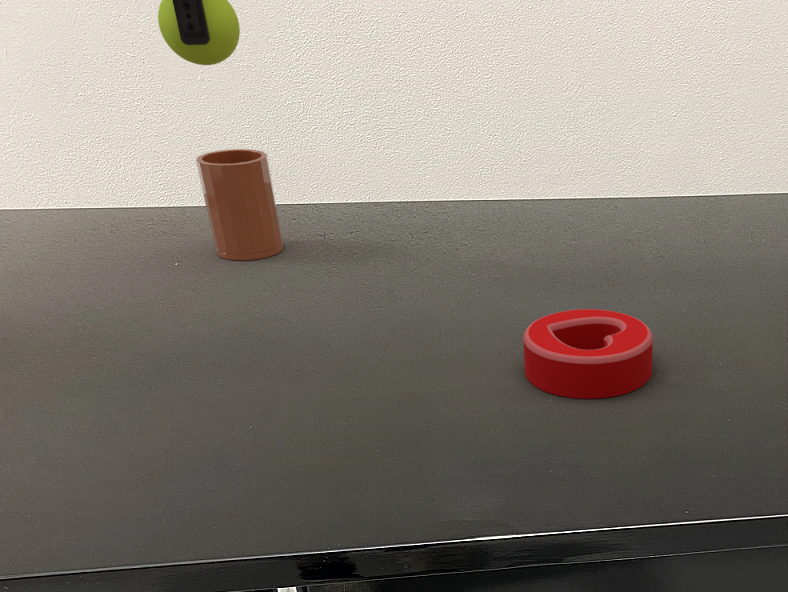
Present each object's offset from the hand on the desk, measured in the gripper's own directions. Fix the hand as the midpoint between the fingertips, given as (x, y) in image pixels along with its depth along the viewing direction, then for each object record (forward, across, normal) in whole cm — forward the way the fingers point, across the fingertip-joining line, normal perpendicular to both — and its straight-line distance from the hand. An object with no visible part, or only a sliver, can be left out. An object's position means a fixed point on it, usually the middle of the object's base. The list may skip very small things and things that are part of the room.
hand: (201, 37), depth 83 cm
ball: (+2, 0, 0) cm, 2 cm away
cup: (+19, -2, 0) cm, 20 cm away
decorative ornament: (+20, +32, +27) cm, 47 cm away
